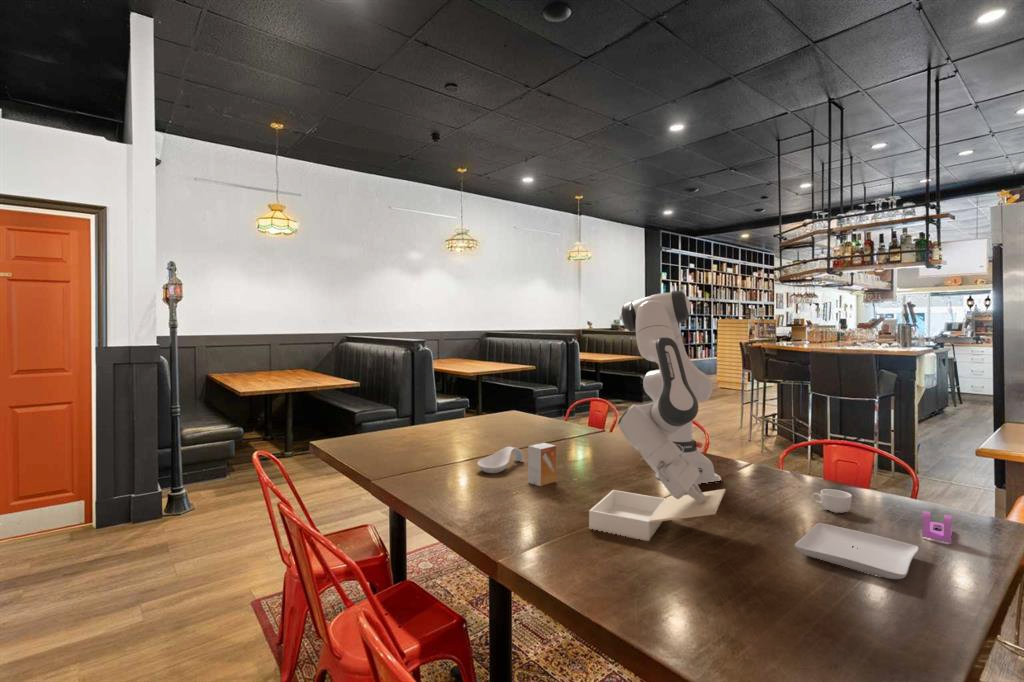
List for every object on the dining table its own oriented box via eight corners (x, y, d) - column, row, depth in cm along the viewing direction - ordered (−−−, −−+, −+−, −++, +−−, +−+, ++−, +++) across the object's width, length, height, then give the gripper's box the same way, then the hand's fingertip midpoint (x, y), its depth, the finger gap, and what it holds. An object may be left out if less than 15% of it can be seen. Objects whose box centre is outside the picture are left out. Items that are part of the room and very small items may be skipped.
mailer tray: (589, 528, 135) (589, 510, 135) (612, 506, 152) (613, 489, 152) (648, 541, 127) (648, 521, 127) (666, 515, 144) (666, 498, 144)
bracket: (950, 546, 125) (951, 518, 125) (921, 539, 129) (922, 512, 128) (952, 530, 134) (952, 504, 134) (925, 525, 138) (925, 500, 138)
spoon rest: (496, 478, 182) (496, 458, 181) (471, 473, 188) (471, 454, 188) (531, 463, 201) (531, 446, 201) (507, 459, 208) (507, 442, 208)
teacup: (851, 509, 149) (851, 491, 149) (851, 518, 143) (852, 499, 143) (812, 503, 155) (812, 486, 155) (811, 511, 148) (811, 493, 148)
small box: (540, 487, 171) (540, 449, 170) (527, 482, 175) (527, 445, 175) (556, 482, 176) (556, 445, 176) (543, 478, 181) (543, 442, 181)
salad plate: (817, 533, 133) (817, 520, 133) (919, 558, 118) (920, 544, 118) (792, 558, 118) (792, 544, 118) (906, 592, 103) (906, 575, 103)
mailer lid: (714, 512, 119) (715, 514, 119) (725, 488, 136) (725, 490, 136) (649, 520, 127) (650, 522, 127) (667, 497, 144) (668, 499, 144)
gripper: (664, 459, 124) (705, 505, 119) (681, 443, 142) (717, 483, 137) (646, 474, 126) (685, 520, 122) (665, 457, 144) (700, 496, 139)
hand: (702, 500), depth 130 cm, fingers closed, pressing on mailer lid
